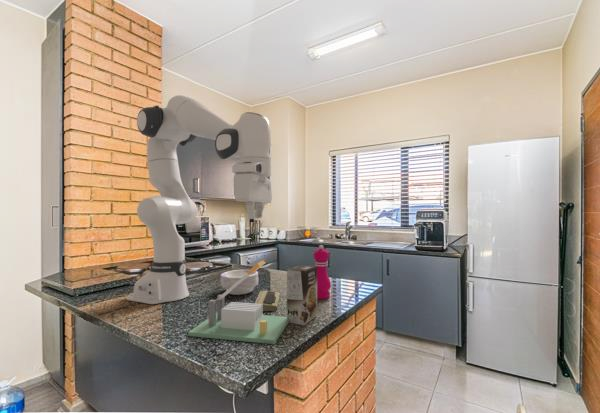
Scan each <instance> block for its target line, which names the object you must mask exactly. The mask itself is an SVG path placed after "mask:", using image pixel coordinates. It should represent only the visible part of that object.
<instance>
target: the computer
mask: <svg viewBox="0 0 600 413" xmlns="http://www.w3.org/2000/svg"><path fill="white" fill-rule="evenodd" d="M280 298H281V293H280V292H278V291H272V290H271V291H270V290H260V291H259V293H258V295H257V297H256V300H255V301H254V302H253V304H263V312H277V310H278V308H279V302H280Z"/></svg>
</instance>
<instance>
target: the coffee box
mask: <svg viewBox="0 0 600 413" xmlns="http://www.w3.org/2000/svg"><path fill="white" fill-rule="evenodd" d="M286 317H287V318H288V319H289V323H290V324H295V325H301V326H306V325H307V324H309V323H310V322H311V321H312V320H313V319H315V318H317V317H318V298H317V266H316V265H304V264H303V265H302V264H300V265H297V266H293V267H291V268H287V269H286ZM308 322H309V323H308Z"/></svg>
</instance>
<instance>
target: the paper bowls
mask: <svg viewBox="0 0 600 413" xmlns="http://www.w3.org/2000/svg"><path fill="white" fill-rule="evenodd" d="M249 270H250V269H234V270H229V271H225V272H222V273H221V274H220V287H221V288H222V289H225V292H226V291H227V290H228V289H229V288H230V287H232V286H233V285H234V284H235V283H236V282H237V281H239V280H240V279H241V278H242V277H243V276H244V275H246V274H247V272H248V271H249ZM258 284H259V272H258V270H257V271H255V272H254V273H252V274H251V275H250V276H248V277H247V278H246V279H245V280H244V281H243V282H241V283H240V284H239V285H238V286H237V287H236V288H234V289H233V290H232V291H231V292H230V293H229V294H228V295H233V296H238V295H239V296H241V295H246V294H249V293H251V292H252V291H253V290H254V288H255V287H256V286H257V285H258Z"/></svg>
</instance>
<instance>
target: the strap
mask: <svg viewBox="0 0 600 413" xmlns="http://www.w3.org/2000/svg"><path fill="white" fill-rule="evenodd" d="M264 265H266V262H265V260H261V261H259V262H257V263H255V264H254V265H253V267H251V268H250V269H248V270H249V271H248V272H247V274H246V275H244V276H243V277H242V278H241V279H240V280H239V281H237V282H236V283H235V284H234V285H233V286H232V287H230V288H229V289H228V290H227V291H226V290H225V292H223V293H222V294H220V295H221V296H220V297H219V298H216V299H215V300H216V305H217V303H219V302H220V301H221V300H222V299H223V298H224V297H226V296H228V295H230V294H229V293H230V292H231V291H232V290H233V289H234V288H236V287H237V286H238V285H239V284H240V283H241V282H243V281H244V280H245V279H246V278H247V277H248V276H250V275H251V274H252V273H254V272H255V271H257V272H258V270H259V269H260V268H261V267H262V266H264Z"/></svg>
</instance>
